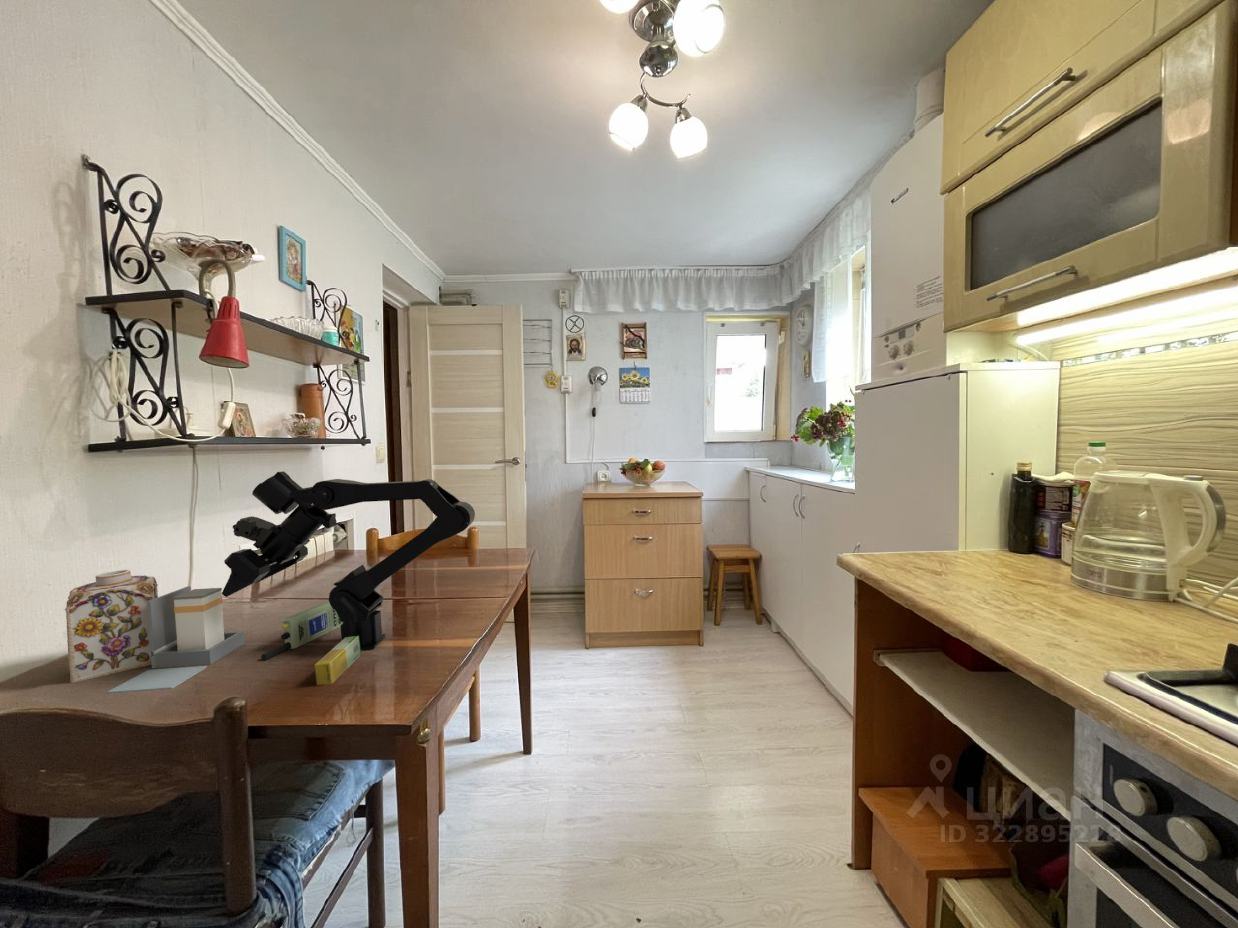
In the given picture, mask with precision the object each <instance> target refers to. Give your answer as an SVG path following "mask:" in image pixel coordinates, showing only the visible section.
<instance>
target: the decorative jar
mask: <svg viewBox="0 0 1238 928" xmlns="http://www.w3.org/2000/svg"><path fill="white" fill-rule="evenodd" d="M158 585H159V584H158V583H157V579H156V577H154V576H148V575H145V574H144V575H132V574H131V570H130V569H121V570H114V571H107V572H102V573H100V574H97V575H95V582H91V583H87V584H83V585H80V586H76V587H75V588H73V589H71V590H70V591H69V595H68V597H67V599H68V600H67V601H66V606H65V609H64V611H65V614H66V615H65V616H66V618H65V619H66V638H67V639H66V640H67V652H68V653H67V654H68V655H67V656H68V667H69V673H70V674H69V675H70V676H69V677H70V678H69V680H70V683H71V684H74V683H78V682H83V681H88V680H92V679H95V678H99V677H104V676H108V675H112V674H117V673H121V672H126V671H129V670H135V669H138V668H142V667H146V666H152V664H151V655H150V651H151V650H150V637H149V624H148V611H147V601H149V600H152V599H155V598H157V597H159V594H158V593H159V591H158V589H159V588H158Z"/></svg>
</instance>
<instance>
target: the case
mask: <svg viewBox="0 0 1238 928" xmlns="http://www.w3.org/2000/svg"><path fill="white" fill-rule="evenodd" d="M191 590H192V587H191V585H189V586H185V587H182V588H180V589H177V590H174V591H172V592H169V593H167V594H164V595H161V596H158V597H157V598H155V599H152V600H149V601H147V611H148V624H149V637H150V650H151V651H150V655H151V664H152V665H151V669H166V668H181V667H195V666H207V665H212V664H214V663H215V662H217V661H219V660H220V659H222V658H223V657H225V656H227V655H229V654H230V653H232V652H233V651H235V650H237V649H238V648H240V647H241V646H244V645H245V644H246V640H245V630H243V631H242V630H240V631H239V630H238V631H237V630H236V631H224V640H223V641H222V642H220V643H218V644H216V645H215V646H213V647H211V648H209V649H201V650H186V651H178V647H177V633H176V620H175V613H174V607H175V606H174V600H173V597H175V596H178V595H180V594H183V593H185V592H188V591H191Z"/></svg>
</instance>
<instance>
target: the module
mask: <svg viewBox="0 0 1238 928" xmlns="http://www.w3.org/2000/svg"><path fill="white" fill-rule="evenodd" d="M222 591H223V588H222V587H211V588H209V587H208V588H194V589H191V591H188V592H185V593H183V594H180V595H178V596H175V597H173V600H174V606H175V607H174V613H175V620H176V633H177V647H178V651H186V650H201V649H209V648H211V647H213V646H215V645H216V644H218V643H220V642H222V641H223V640H224V632H225V630H224V615H223V614H224V612H223V597H222Z"/></svg>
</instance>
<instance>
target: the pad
mask: <svg viewBox="0 0 1238 928" xmlns="http://www.w3.org/2000/svg"><path fill="white" fill-rule="evenodd" d="M207 668H208V666H207V665H196V666H182V667H168V668H154V669H148V670H146V671H144V672H141V673H139V674H138V675H136V676H135V677H133V678H131V679H129V680H127V681H126V682H125V681H124V682H123V683H121V684H119V685H117V686H116V687H114V688H111V689H110V690H108V691H107V693H106V694H119V693H130V692H142V691H143V692H145V691H155V690H156V691H158V690H169V689H171V690H173V688H175V687H177V686H178V685H180V684H182V683H183V682H185V681H187V680H188V679H190V678H191V677H193V676H195V675H196V674H198V673H200V672H201V671H203V670H205V669H207Z"/></svg>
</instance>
